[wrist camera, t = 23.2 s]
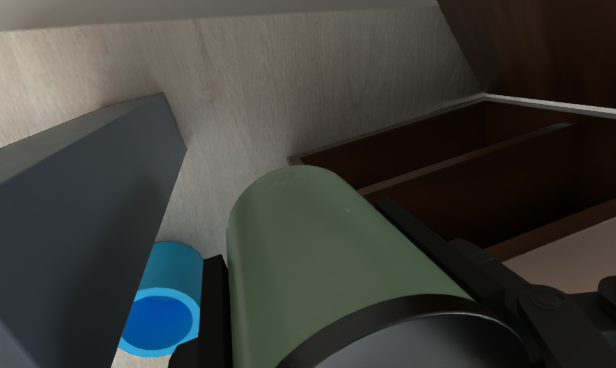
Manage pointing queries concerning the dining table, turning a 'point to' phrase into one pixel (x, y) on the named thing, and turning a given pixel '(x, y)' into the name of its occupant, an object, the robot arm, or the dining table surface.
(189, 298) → the mug
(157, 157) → the stand
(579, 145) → the cupboard
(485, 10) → the door
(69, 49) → the dining table surface
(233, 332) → the tin
